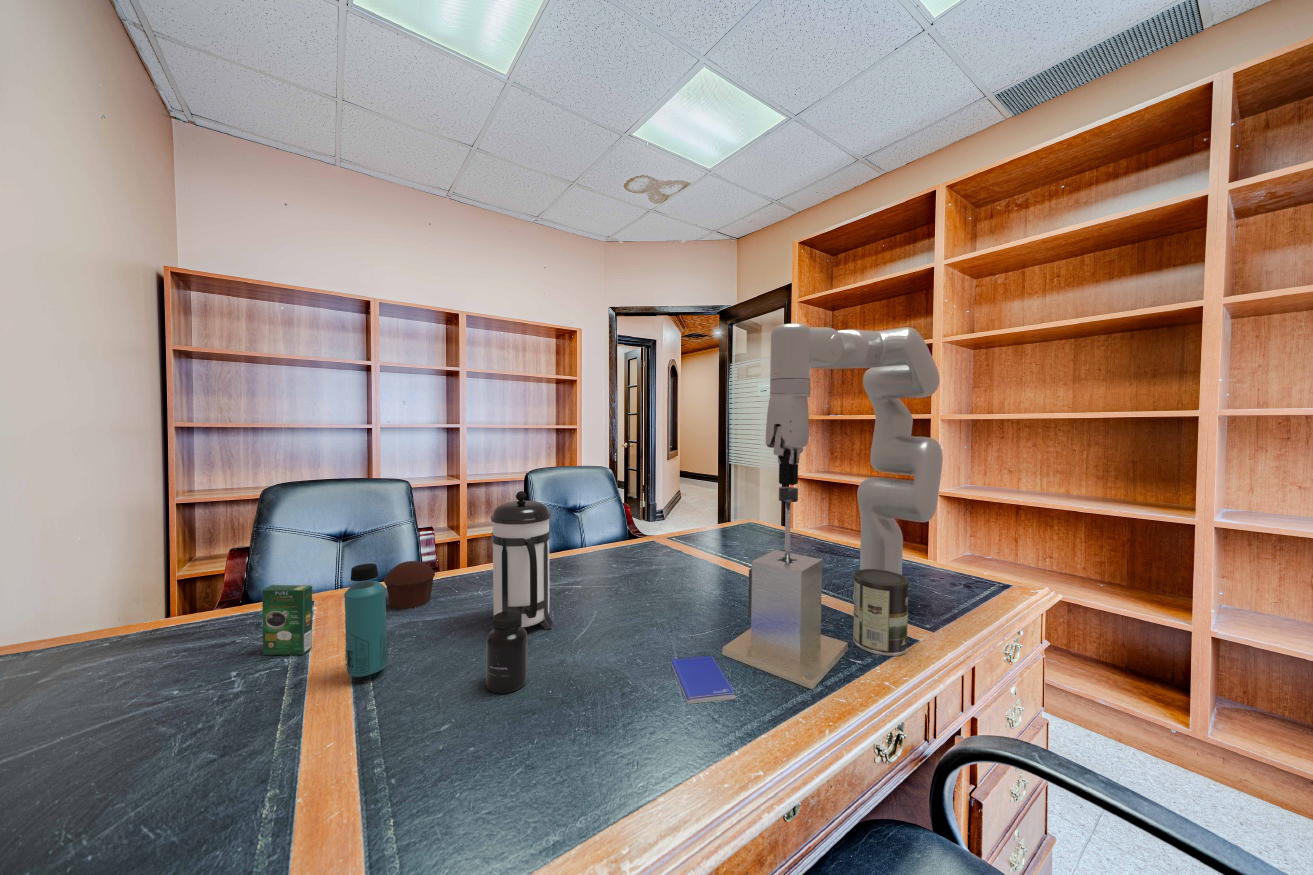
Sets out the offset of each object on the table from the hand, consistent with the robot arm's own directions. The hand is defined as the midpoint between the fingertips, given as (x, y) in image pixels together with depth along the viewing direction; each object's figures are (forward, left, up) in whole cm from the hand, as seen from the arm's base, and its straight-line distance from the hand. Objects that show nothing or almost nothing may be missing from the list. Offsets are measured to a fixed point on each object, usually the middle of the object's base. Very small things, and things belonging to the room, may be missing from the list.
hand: (788, 483), depth 91 cm
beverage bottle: (+57, -53, -34) cm, 85 cm away
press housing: (0, 0, -34) cm, 34 cm away
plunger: (0, 0, -17) cm, 17 cm away
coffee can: (-16, +13, -34) cm, 40 cm away
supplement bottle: (+42, -32, -34) cm, 63 cm away
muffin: (+38, -82, -34) cm, 96 cm away
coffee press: (+27, -49, -34) cm, 65 cm away
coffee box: (+64, -74, -34) cm, 103 cm away
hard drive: (+19, -7, -34) cm, 40 cm away
